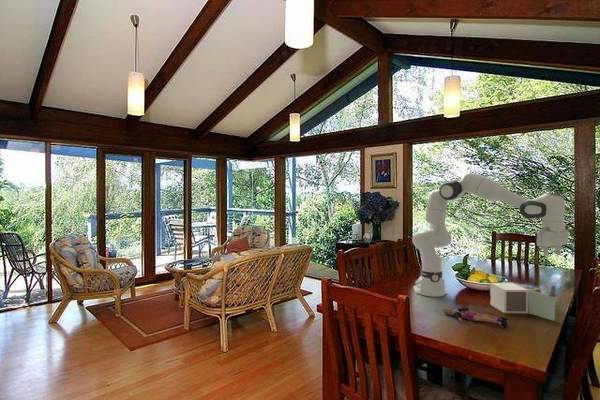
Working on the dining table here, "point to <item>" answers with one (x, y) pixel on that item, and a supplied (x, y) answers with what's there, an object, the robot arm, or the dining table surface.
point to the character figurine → (474, 316)
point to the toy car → (525, 287)
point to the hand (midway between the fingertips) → (551, 254)
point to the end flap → (542, 303)
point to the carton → (509, 298)
